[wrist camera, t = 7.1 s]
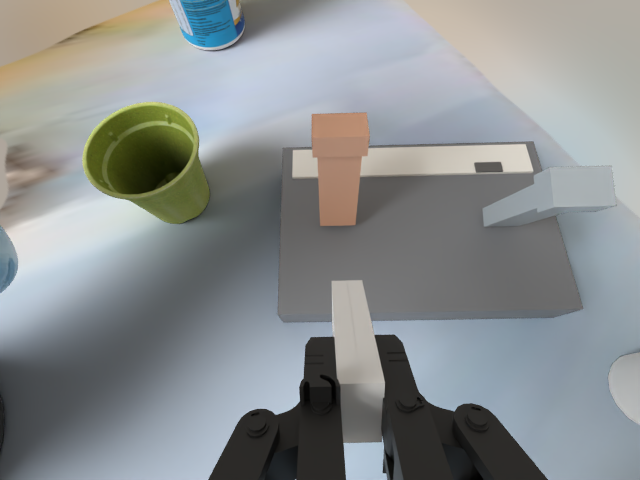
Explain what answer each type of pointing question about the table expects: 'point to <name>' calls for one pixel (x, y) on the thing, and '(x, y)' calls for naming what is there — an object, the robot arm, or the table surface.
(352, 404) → the robot arm
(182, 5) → the beverage bottle
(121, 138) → the plant pot
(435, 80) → the table surface
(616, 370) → the white paper cup
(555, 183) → the slate lever
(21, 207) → the table surface
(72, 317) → the table surface
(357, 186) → the terracotta lever
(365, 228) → the switch unit
